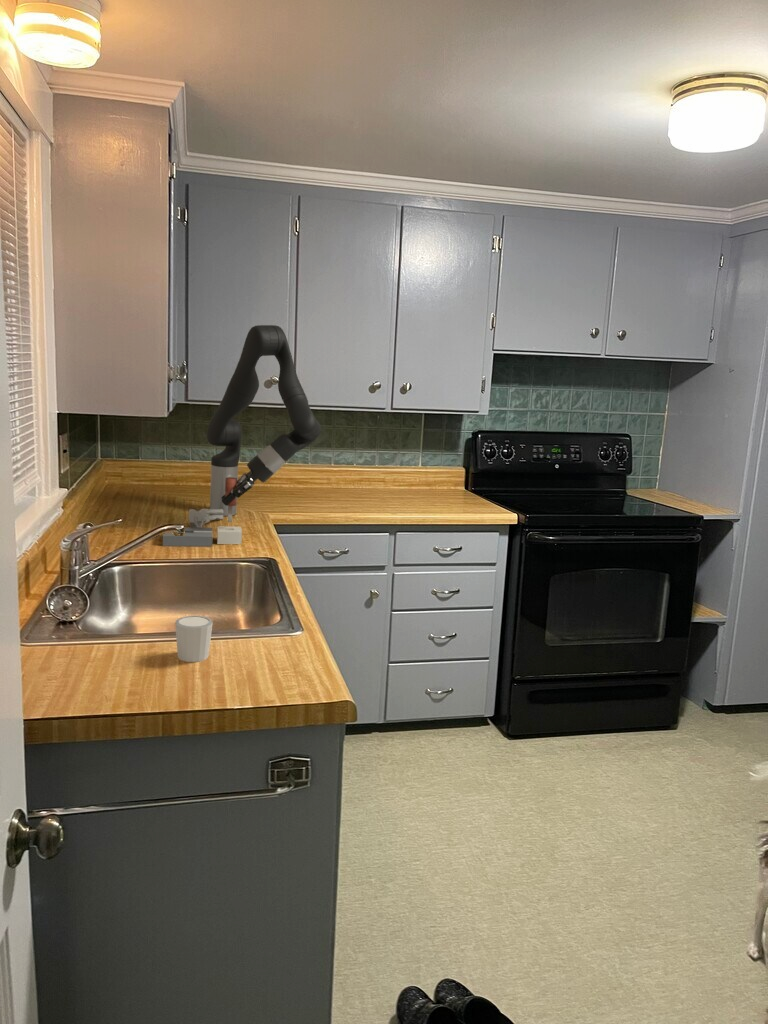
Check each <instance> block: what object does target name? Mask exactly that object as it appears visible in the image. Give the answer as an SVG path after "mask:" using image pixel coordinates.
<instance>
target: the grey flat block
mask: <svg viewBox="0 0 768 1024" xmlns="http://www.w3.org/2000/svg"><path fill="white" fill-rule="evenodd" d="M184 527H185V533H184V535H183V536H175V535H174V534H172V533H165V534H162V546H163V547H193V548H194V547H199V548H200V547H203V548H204V547H205V548H211V546H212V547H213V541H214V540H213V539H214V538H213V533H214V532H213V527H205V526H204V527H203V526H202V527H192V526H184ZM209 546H210V547H209Z"/></svg>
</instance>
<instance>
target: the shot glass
mask: <svg viewBox="0 0 768 1024" xmlns="http://www.w3.org/2000/svg"><path fill="white" fill-rule="evenodd" d="M213 622H214V621H213V619H211V618H209V617H207V616H202V615H187V616H183V617H180V618H178V619H176V620H175V623H174V626H175V639H176V650H177V658H178V660H179V661H181V662H186V663H197V662H198V663H200V662H203V661H206V660H207V659H208V658H209V656H210V646H211V638H212V632H213V631H212V630H213V624H214V623H213Z"/></svg>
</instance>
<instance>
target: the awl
mask: <svg viewBox="0 0 768 1024" xmlns="http://www.w3.org/2000/svg"><path fill="white" fill-rule="evenodd" d="M236 484H237V478H232V477H228V478H226V481H225V497H226V496H227V495H228V494H229V493H230V492H231V490H233V489H234V488H235V487H236V486H235V485H236ZM227 506H228V516H227V523H233V515H232V507H233V506H236V497H235V499H234V500H233V501H232V502H231V503H229V504H228V505H227Z"/></svg>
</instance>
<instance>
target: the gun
mask: <svg viewBox="0 0 768 1024" xmlns="http://www.w3.org/2000/svg"><path fill="white" fill-rule="evenodd" d="M188 511H189V512H188V523H190V527H203V525H206V523H207V524H208V523H210V521H215V520H223V519H224V517H225V516H224V515H213V514H223V509H210V508H201V509H200V510H196V509H193V508H191V509H189V510H188Z"/></svg>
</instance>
